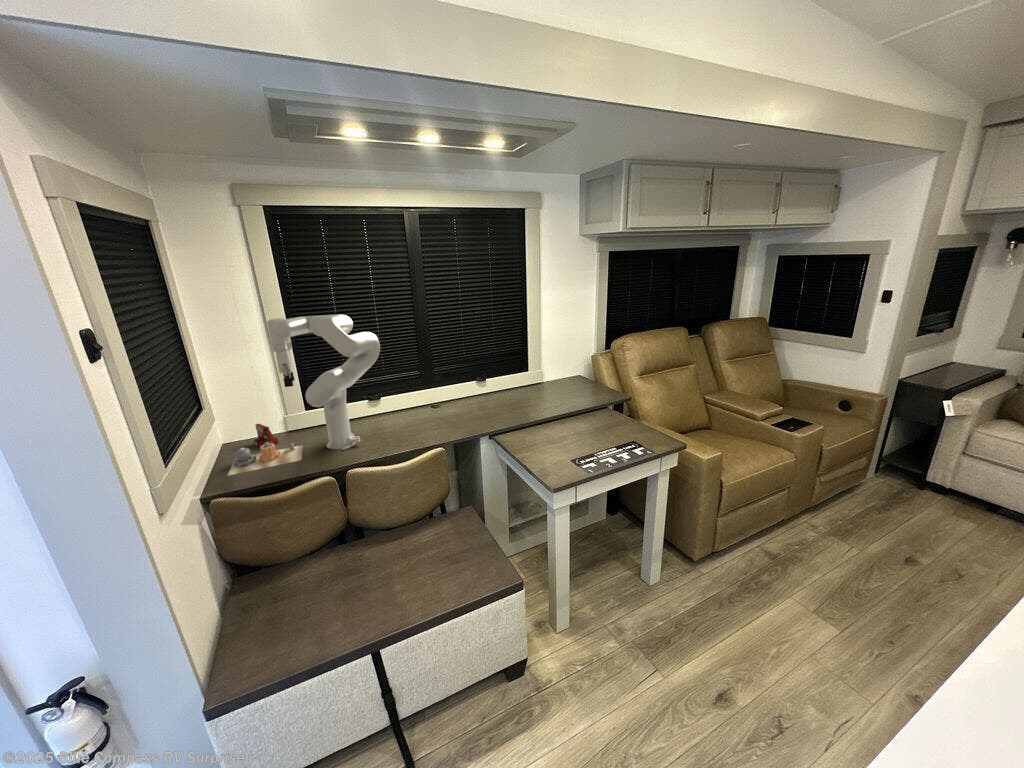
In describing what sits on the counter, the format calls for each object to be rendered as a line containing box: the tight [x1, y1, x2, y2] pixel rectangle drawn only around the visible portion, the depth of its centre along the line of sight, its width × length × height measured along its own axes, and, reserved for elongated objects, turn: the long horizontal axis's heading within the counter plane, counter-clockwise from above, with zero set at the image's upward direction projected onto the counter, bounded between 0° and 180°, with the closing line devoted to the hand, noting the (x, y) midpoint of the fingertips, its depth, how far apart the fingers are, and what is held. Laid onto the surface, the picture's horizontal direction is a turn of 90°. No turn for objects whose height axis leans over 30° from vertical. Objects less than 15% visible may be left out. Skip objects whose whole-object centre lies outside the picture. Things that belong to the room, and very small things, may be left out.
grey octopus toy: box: [232, 447, 257, 468], centre depth 160 cm, size 8×8×7 cm
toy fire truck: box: [253, 423, 280, 448], centre depth 177 cm, size 7×12×10 cm, turn 57°
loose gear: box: [259, 443, 281, 462], centre depth 164 cm, size 8×8×6 cm
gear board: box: [226, 442, 304, 477], centre depth 162 cm, size 26×16×8 cm, turn 116°
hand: (290, 383), depth 175 cm, fingers open, 9 cm apart
